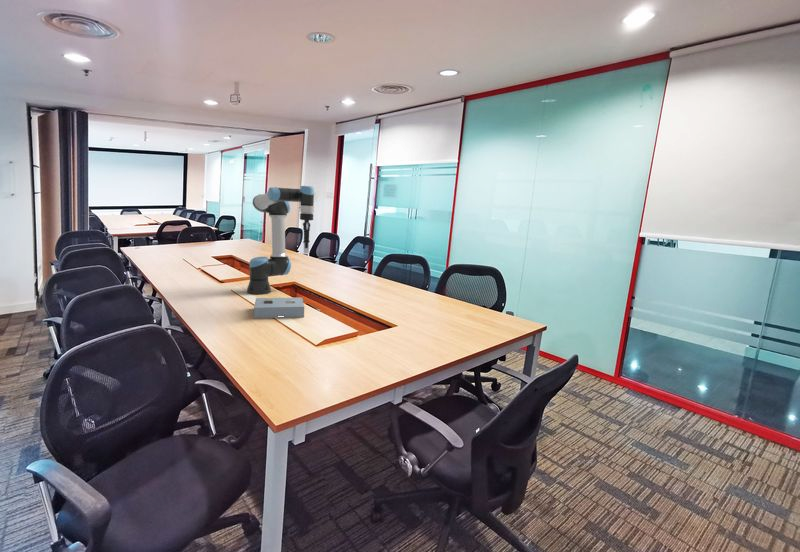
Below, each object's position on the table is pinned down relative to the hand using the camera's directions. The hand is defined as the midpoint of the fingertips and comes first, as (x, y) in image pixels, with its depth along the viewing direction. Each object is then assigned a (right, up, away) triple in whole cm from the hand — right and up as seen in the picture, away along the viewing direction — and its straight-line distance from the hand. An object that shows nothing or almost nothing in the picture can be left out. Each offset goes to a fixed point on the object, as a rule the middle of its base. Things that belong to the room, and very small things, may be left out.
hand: (306, 253), depth 234 cm
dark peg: (-19, -34, -11) cm, 40 cm away
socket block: (-13, -34, -9) cm, 38 cm away
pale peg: (-7, -34, -8) cm, 35 cm away
